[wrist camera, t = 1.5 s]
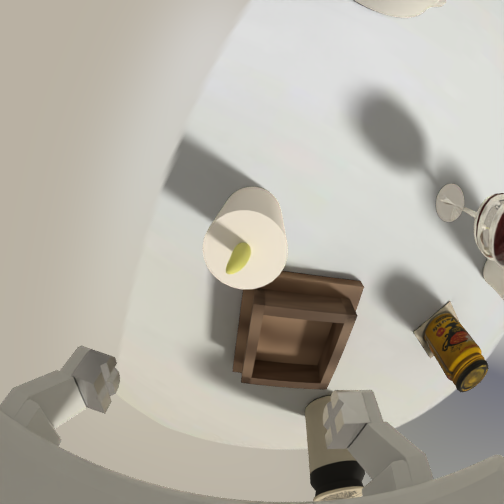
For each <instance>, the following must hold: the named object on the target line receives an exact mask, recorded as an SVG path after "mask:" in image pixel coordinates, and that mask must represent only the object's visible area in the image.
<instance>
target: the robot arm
mask: <svg viewBox="0 0 504 504" xmlns="http://www.w3.org/2000/svg"><path fill="white" fill-rule="evenodd" d="M355 1H356V2H358V3H360V4H362V5H363V6H365V7H367V8H369V9H372V10H374V11H376V12H379V13H382V14H385V15H389V16H393V17H400V18H410V17H415V16H418V15H420V14H422V13H424V12H425V11H426V10H427V9H428V8H430V7H441V6H443V5H444V4H445V3H446V0H355ZM116 364H117V363H116V359H115V357H113V356H110V355H107V354H104V353H101V352H98V351H95V350H92V349H90V348H87V347H84V346H80V347H78V348H77V349H76V350H75V352H74V353H73V354H72V356H71V357H70V358H69V360H68V361H67V362H66V364H65V365H64V366H63V368H62V369H61V370H60V371H58V370H56V371H53V372H51V373H49V374H46V375H44V376H42V377H39V378H37V379H34V380H32V381H29V382H27V383H24V384H22V385H19V386H17V387H14V388H13V389H12V390H11V391H10V393H9V394H8V395H7V397H6V398H5V400H4V401H3V402H2V403H1V405H0V504H504V457H502V456H501V455H494V456H491V457H489V458H487V459H485V460H483V461H481V462H478V463H477V464H474V465H472V466H469V467H467V468H465V469H462V470H460V471H457V472H454V473H451V474H449V475H446V476H443V477H440V478H437V479H433V475H432V472H431V469H430V466H429V463H428V460H427V457H426V454H425V453H424V452H422V451H421V450H420V449H418V448H417V447H416V446H415V445H414V444H413V443H411V442H410V441H409V440H408V439H407V438H405V437H404V436H403V435H402V434H400V433H399V432H398V431H397V430H396V429H395V428H393V427H392V426H391V425H390V424H389V423H388V422H383V419H382V416H381V413H380V410H379V407H378V404H377V401H376V398H375V395H374V392H373V391H372V390H335V391H333V392H332V394H331V396H330V397H331V401H330V402H329V403H327V404H326V406H325V408H324V412H323V426H324V427H325V428H326V429H327V430H328V431H327V432H326V434H325V440H326V447H327V449H347V450H348V451H349V452H350V453H351V455H352V456H353V457H354V458H355V459H356V461H357V462H358V463H359V464H360V465H361V467H362V468H363V469H364V470H365V471H366V473H367V474H368V475H369V476H370V477H371V479H372V481H371V482H370V483H368V484H367V485H366V486H365V487H364V488H363V489H362V495H363V496H362V497H355V498H348V499H339V500H328V501H313V502H261V501H247V500H236V499H227V498H219V497H212V496H206V495H200V494H195V493H190V492H184V491H180V490H176V489H171V488H167V487H163V486H159V485H156V484H152V483H149V482H145V481H142V480H139V479H135V478H132V477H129V476H126V475H123V474H121V473H118V472H115V471H112V470H110V469H107V468H104V467H102V466H99V465H96V464H95V463H92V462H90V461H87V460H85V459H83V458H81V457H79V456H77V455H74V454H72V453H70V452H68V451H66V450H64V449H62V448H60V447H58V446H59V444H60V443H61V438H60V436H59V435H58V434H57V432H56V431H55V428H57V427H58V426H60V425H61V424H63V423H65V422H66V421H68V420H69V419H71V418H72V417H74V416H76V415H77V414H79V413H80V412H82V411H83V410H85V409H86V408H87V407H88V408H91V409H93V410H96V411H99V412H102V413H106V411H107V409H108V407H109V405H110V403H111V398H110V396H111V395H113V394H115V393H116V392H117V389H118V387H119V383H120V375H119V371H118V370H117V369H116V368H115V366H116Z"/></svg>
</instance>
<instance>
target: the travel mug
mask: <svg viewBox="0 0 504 504" xmlns="http://www.w3.org/2000/svg"><path fill="white" fill-rule="evenodd" d="M330 401H331V397H330V396H326V397H322V398H319V399H317V400H315V401H313V402H311V403H310V404H309V405H308V406H307V407H306V409H305V418H306V430H307V442H308V454H309V468H310V483H311V485H312V487H313V488H314V489H315V490H316V494H315V497H314V499H313V501H328V500H339V499H348V498H355V497H360V496H362V489H363V488H364V486H363V484H362V480H363V477H364V475H365V470H364V469H363V468H362V467H361V465H360V464H359V463H358V462H357V461H356V459H355V458H354V457H353V456H352V455H351V453H350V452H349V451H348V450H347V449H327V447H326V440H325V434H326V432H327V431H328V430H327V429H326V428H325V427H324V426H323V412H324V408H325V406H326V404H327V403H329V402H330Z"/></svg>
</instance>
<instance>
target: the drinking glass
mask: <svg viewBox="0 0 504 504" xmlns="http://www.w3.org/2000/svg"><path fill="white" fill-rule="evenodd" d="M483 276H484V279H485V281H486V282H487V283H488V284H489V285H490V286H491V287H492V288H493V289H494V290H495V291H496V292H497V293H498V294H499V295H500V297H501V298H502V299H503V300H504V268H503V267H500V266H499V265H498V264H496V262H495V261H493V260H490V259H487V261H486V263H485V266H484V270H483Z"/></svg>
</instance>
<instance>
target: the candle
mask: <svg viewBox="0 0 504 504" xmlns="http://www.w3.org/2000/svg"><path fill="white" fill-rule="evenodd" d="M203 255H204V260H205V262H206V265H207V267H208V269H209V270H210V271H211V273H212V274H213V275H214V276H215V277H216V278H217V279H218V280H220V281H221V282H222V283H224V284H226V285H228V286H230V287H233V288H238V289H255V288H259V287H263V286H265V285H267V284H269V283H270V282H272V281H273V280H274V279H275V278H276V277H278V276H279V275H280V273H281V271H282V270H283V268H284V267H285V264H286V260H287V257H288V245H287V239H286V233H285V228H284V222H283V217H282V212H281V208H280V205H279V203H278V201H277V199H276V198H275V197H274V196H273V195H272V194H271V193H270V192H269V191H267V190H265V189H263V188H259V187H245V188H242V189H239V190H238V191H236V192H235V193H233V194H232V195H231V196H230V197H229V199H228V200H227V201H226V203H225V204H224V206H223V207H222V209H221V210H220V212H219V213H218V215H217V216H216V218H215V219H214V221H213V222H212V224H211V225H210V227H209V229H208V231H207V233H206V235H205V237H204V242H203Z"/></svg>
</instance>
